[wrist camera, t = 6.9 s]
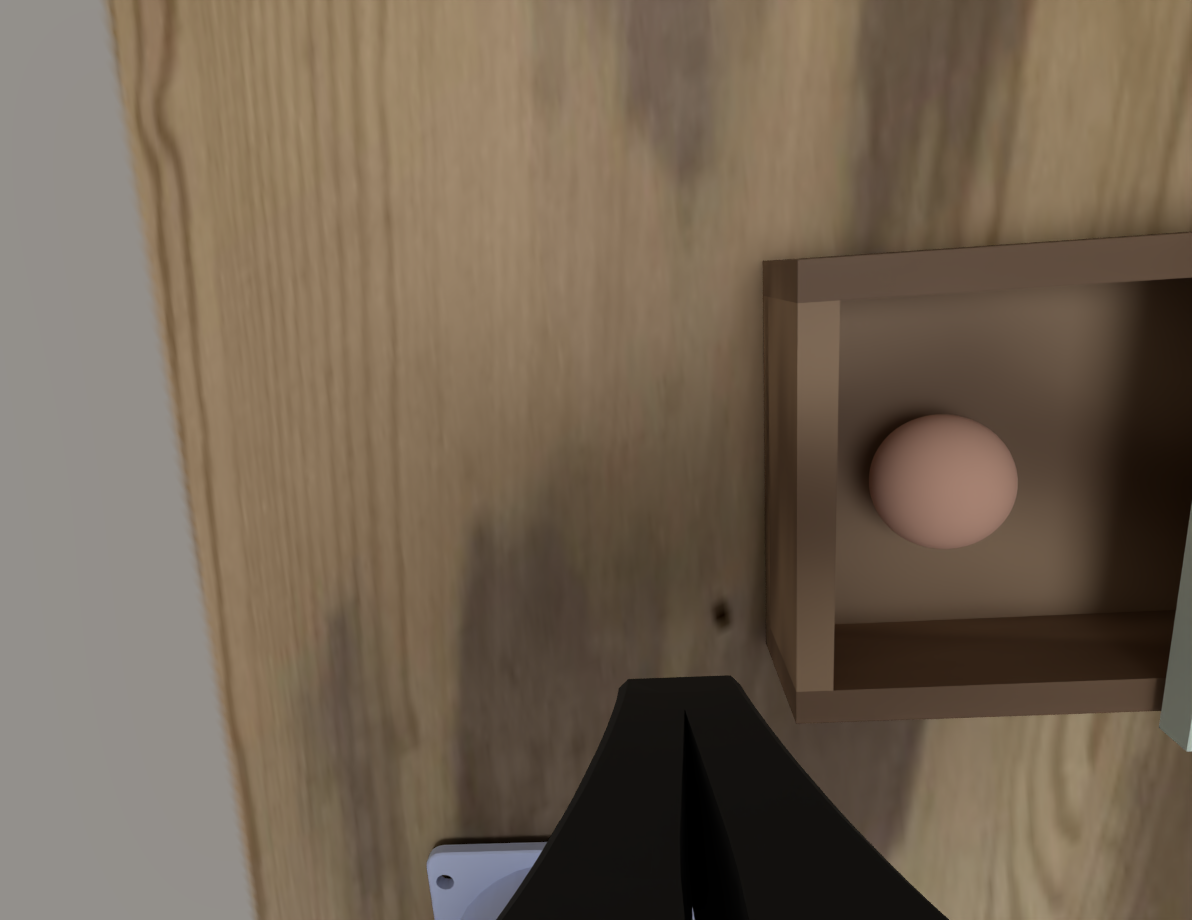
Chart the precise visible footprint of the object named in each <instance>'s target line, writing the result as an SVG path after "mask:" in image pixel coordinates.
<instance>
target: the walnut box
mask: <svg viewBox="0 0 1192 920" xmlns="http://www.w3.org/2000/svg"><path fill="white" fill-rule="evenodd" d="M763 335H764V450H765V566H766V644H767V647H768V650H769V652H770V655H771V658H772V660H773V663H774V666H775V668H776V671H777V674H778V676H779V679H780V681H781V684H782V687H783V689H784V692H785V695H786V697H787V700H788V703H789V705H790V708H791V711H792V713H793V716H794V719H795V721H796V724H802V723H831V722H859V721H887V720H915V719H943V718H971V717H999V716H1027V715H1055V714H1083V713H1111V712H1139V711H1161V710H1162V703H1163V696H1164V689H1165V682H1166V676H1167V669H1168V662H1169V655H1170V648H1171V641H1172V635H1173V628H1174V621H1175V614H1176V607H1177V600H1178V593H1179V587H1180V580H1181V573H1182V566H1183V559H1184V552H1185V546H1186V539H1187V532H1188V525H1189V518H1190V511H1191V504H1192V232H1181V233H1166V234H1151V235H1137V236H1122V237H1108V238H1093V239H1079V240H1064V241H1049V242H1035V243H1020V244H1006V245H991V246H976V247H962V248H947V249H933V250H918V251H903V252H889V253H874V254H860V255H845V256H831V257H816V258H801V259H787V260H772V261H763ZM935 414H950V415H957V416H961V417H965V418H968V419H972V420H974V421H976V422H979V423H980V424H982V425H984V426H985V427H987V428H988V429H990V430H991V431H992V432H994V433H995V434H996V435H997V436H998V437H999V438H1000V439H1001V440H1002V441H1003V443H1004V444H1005V445H1006V447H1007V448H1008V450H1009V451H1010V453H1011V455H1012V458H1013V460H1014V462H1015V466H1016V469H1017V476H1018V490H1017V496H1016V499H1015V503H1014V505H1013V508H1012V510H1011V512H1010V513H1009V515H1008V517H1007V518H1006V520H1005V521H1004V522H1003V523H1002V525H1001V526H1000V527H999V528H998V529H997V530H995V531H994V532H993V533H992V534H990V535H989V536H987V537H986V538H984V539H983V540H981V541H979V542H977V543H974V544H971V545H968V546H964V547H960V548H954V549H935V548H928V547H924V546H920V545H917V544H915V543H912V542H910V541H908V540H906V539H904V538H902V537H901V536H899V535H898V534H897V533H895V532H894V531H893V530H891V529H890V528H889V527H888V526H887V525H886V524H885V522H884V521H883V520H882V518H881V517H880V516H879V514H878V513H877V511H876V509H875V507H874V504H873V501H872V498H871V495H870V490H869V472H870V467H871V463H872V460H873V457H874V455H875V453H876V451H877V449H878V448H879V446H880V445H881V443H882V442H883V441H884V440H885V438H886V437H887V436H888V435H889V434H890V433H892V432H893V431H894V430H895V429H897V428H898V427H900V426H901V425H903V424H905V423H907V422H909V421H911V420H914V419H917V418H919V417H923V416H927V415H935Z"/></svg>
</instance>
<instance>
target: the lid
mask: <svg viewBox="0 0 1192 920" xmlns="http://www.w3.org/2000/svg"><path fill="white" fill-rule="evenodd" d="M1159 728H1160V729H1161V730H1162V731H1164V732H1165V733H1166V734H1167V735H1168V736H1169V737H1170V738H1172V739H1173V740H1174V741H1175V742H1176V743H1177V744H1179V745H1180V746H1181V747H1182V748H1183V749H1184V750H1186V751H1192V504H1191V511H1190V518H1189V525H1188V532H1187V539H1186V546H1185V552H1184V559H1183V566H1182V573H1181V580H1180V587H1179V593H1178V600H1177V607H1176V614H1175V621H1174V628H1173V635H1172V641H1171V648H1170V655H1169V662H1168V669H1167V676H1166V682H1165V689H1164V696H1163V703H1162V710H1161V717H1160V723H1159Z"/></svg>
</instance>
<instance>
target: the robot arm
mask: <svg viewBox="0 0 1192 920" xmlns="http://www.w3.org/2000/svg"><path fill="white" fill-rule="evenodd" d="M427 873H428V880H429V886H430V893H431V899H432V906H433V913H434V919H435V920H949V919H948V918H947V917H946V916H944V915H943V914H942V913H941V912H940V911H939V910H938V909H937V908H936V907H934V906H933V905H932V904H931V903H930V902H929V901H928V900H927V899H926V898H925V897H924V896H923V895H922V894H921V893H920V892H918V891H917V890H916V889H915V888H914V887H913V886H912V885H911V884H910V883H909V882H908V881H907V880H906V879H905V878H904V877H903V876H902V875H901V874H900V873H899V872H898V871H897V870H896V869H895V868H894V867H893V866H892V865H891V864H890V863H889V862H888V861H887V860H886V859H885V858H884V857H883V856H882V855H881V854H880V853H879V852H878V851H877V850H876V849H875V848H874V847H873V846H872V845H871V844H870V843H869V842H868V841H867V840H866V839H865V838H864V836H863V835H862V834H861V833H860V832H859V831H858V830H857V829H856V828H855V827H854V826H853V825H852V824H851V823H850V822H849V821H848V820H847V819H846V817H845V816H844V815H843V814H842V813H841V812H840V811H839V810H838V809H837V808H836V806H835V805H834V804H833V803H832V802H831V801H830V800H829V799H828V797H827V796H826V795H825V794H824V793H823V792H822V790H821V789H820V788H819V787H818V786H817V785H816V783H815V782H814V781H813V780H812V779H811V778H810V776H809V775H808V774H807V773H806V772H805V771H804V769H803V768H802V767H801V766H800V765H799V764H798V762H797V761H796V760H795V759H794V758H793V756H792V755H791V754H790V753H789V751H788V750H787V749H786V748H785V746H784V745H783V744H782V743H781V741H780V740H779V739H778V737H777V736H776V735H775V733H774V732H773V731H772V729H771V728H770V727H769V726H768V724H767V723H766V722H765V720H764V719H763V717H762V716H761V715H760V713H759V712H758V711H757V709H756V708H755V706H754V705H753V704H752V702H751V701H750V699H749V698H748V696H747V695H746V693H745V692H744V690H743V689H742V687H741V685H740V684H739V683H738V682H737V681H736V680H735V679H734V678H733V677H731V676H703V677H676V678H649V679H628V680H627V681H626V682H625V683H624V684H623V685H622V686H621V687H620V688H619V692H618V696H617V700H616V703H615V706H614V710H613V712H612V715H611V718H610V721H609V723H608V726H607V728H606V731H605V733H604V735H603V737H602V740H601V742H600V744H599V747H598V749H597V751H596V753H595V755H594V757H593V759H592V761H591V763H590V765H589V767H588V769H587V771H586V773H585V775H584V777H583V779H582V781H581V783H580V785H579V787H578V789H577V791H576V793H575V795H574V797H573V799H572V801H571V803H570V804H569V806H568V808H567V810H566V811H565V813H564V815H563V816H562V818H561V820H560V821H559V823H558V825H557V826H556V828H555V830H554V831H553V833H552V835H551V837H550V838H549V840H548V842H528V843H492V844H456V845H441V846H437V847H435V848H434V849H433V850H432V851H431V853H430V855H429V858H428V861H427ZM441 875H448V876H450V877H451V879H448V878H444V877H443V876H441Z"/></svg>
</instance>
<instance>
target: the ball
mask: <svg viewBox="0 0 1192 920" xmlns="http://www.w3.org/2000/svg"><path fill="white" fill-rule="evenodd" d="M869 490H870V495H871V498H872V501H873V504H874V507H875V509H876V511H877V513H878V514H879V516H880V517H881V518H882V520H883V521H884V522H885V524H886V525H887V526H888V527H889V528H890V529H891V530H893V531H894V532H895V533H897V534H898V535H899V536H901V537H902V538H904V539H906V540H908V541H910V542H912V543H915V544H917V545H920V546H924V547H928V548H935V549H954V548H960V547H964V546H968V545H971V544H974V543H977V542H979V541H981V540H983V539H984V538H986V537H987V536H989V535H990V534H992V533H993V532H994V531H995V530H997V529H998V528H999V527H1000V526H1001V525H1002V523H1003V522H1004V521H1005V520H1006V518H1007V517H1008V515H1009V513H1010V512H1011V510H1012V508H1013V505H1014V503H1015V499H1016V496H1017V490H1018V476H1017V469H1016V466H1015V462H1014V460H1013V458H1012V455H1011V453H1010V451H1009V450H1008V448H1007V447H1006V445H1005V444H1004V443H1003V441H1002V440H1001V439H1000V438H999V437H998V436H997V435H996V434H995V433H994V432H992V431H991V430H990V429H988V428H987V427H985V426H984V425H982V424H980V423H979V422H976V421H974V420H972V419H968V418H965V417H961V416H957V415H950V414H935V415H927V416H923V417H919V418H917V419H914V420H911V421H909V422H907V423H905V424H903V425H901V426H900V427H898V428H897V429H895V430H894V431H893V432H892V433H890V434H889V435H888V436H887V437H886V438H885V440H884V441H883V442H882V443H881V445H880V446H879V448H878V449H877V451H876V453H875V455H874V457H873V460H872V463H871V467H870V472H869Z"/></svg>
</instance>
